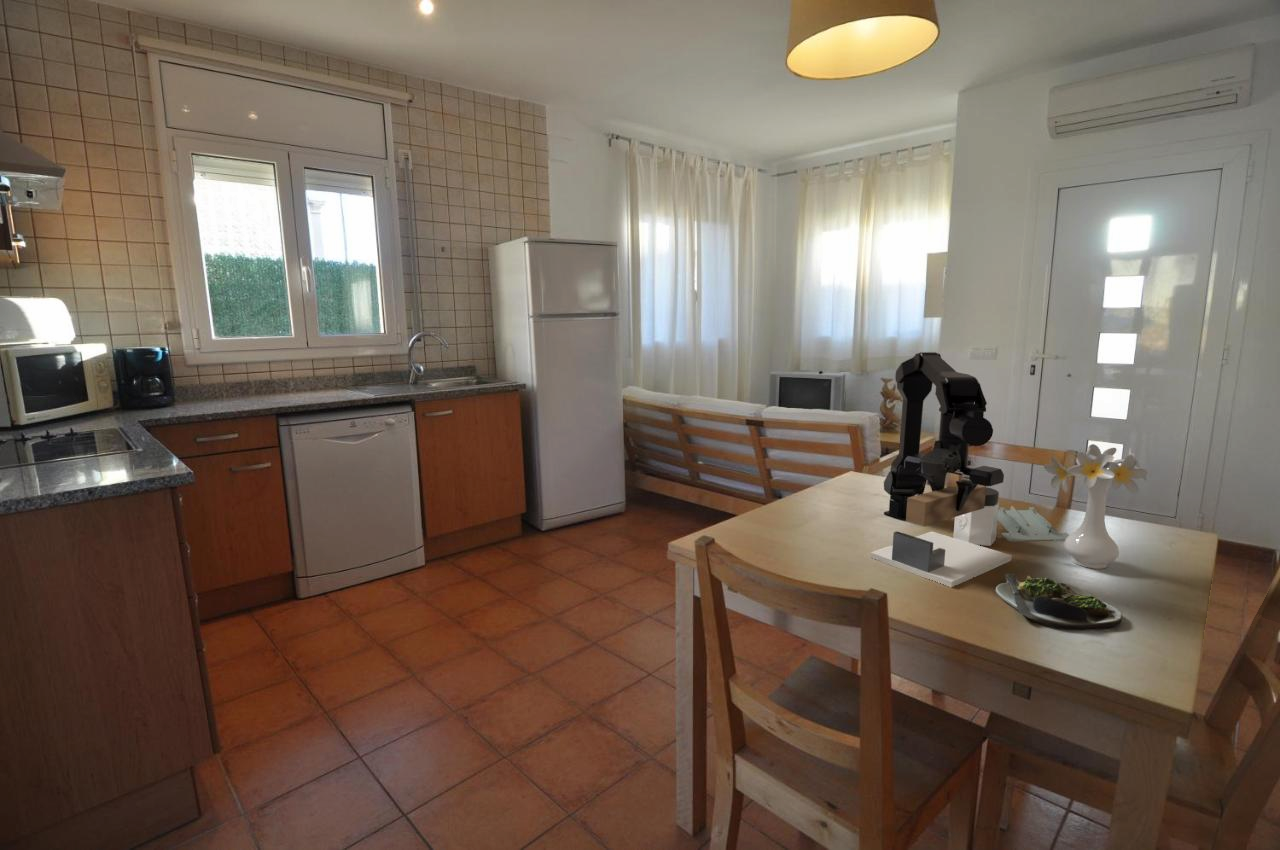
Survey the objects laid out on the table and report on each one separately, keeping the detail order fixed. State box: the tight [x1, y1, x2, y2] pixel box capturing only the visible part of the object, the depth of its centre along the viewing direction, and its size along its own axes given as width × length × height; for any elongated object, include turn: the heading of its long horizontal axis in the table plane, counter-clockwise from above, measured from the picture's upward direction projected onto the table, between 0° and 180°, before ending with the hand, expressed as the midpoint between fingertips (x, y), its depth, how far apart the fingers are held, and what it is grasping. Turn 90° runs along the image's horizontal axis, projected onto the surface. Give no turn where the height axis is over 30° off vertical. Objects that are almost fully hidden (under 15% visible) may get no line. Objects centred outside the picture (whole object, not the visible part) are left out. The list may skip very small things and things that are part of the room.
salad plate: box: [995, 573, 1123, 631], centre depth 109 cm, size 19×18×5 cm
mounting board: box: [869, 530, 1012, 588], centre depth 130 cm, size 23×18×1 cm
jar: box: [952, 486, 1000, 547], centre depth 140 cm, size 9×8×12 cm
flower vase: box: [1043, 443, 1149, 570], centre depth 124 cm, size 13×18×25 cm
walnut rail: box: [905, 484, 987, 527], centre depth 129 cm, size 22×4×5 cm, turn 122°
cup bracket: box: [892, 531, 945, 573], centre depth 125 cm, size 6×8×6 cm
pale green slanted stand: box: [997, 505, 1070, 542], centre depth 146 cm, size 14×6×15 cm
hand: (948, 508), depth 129 cm, fingers closed on walnut rail, 4 cm apart
